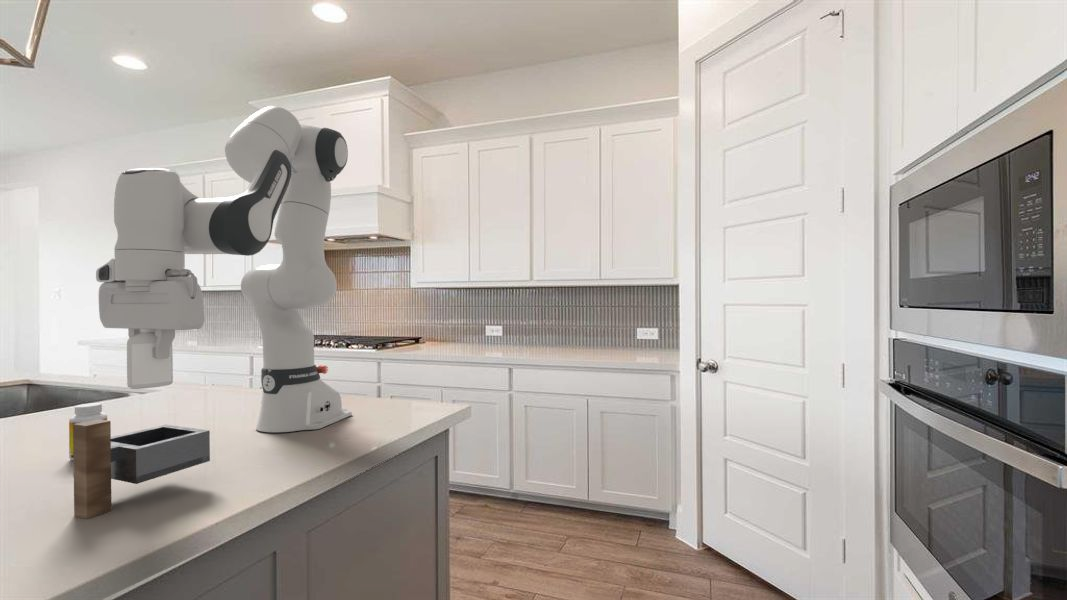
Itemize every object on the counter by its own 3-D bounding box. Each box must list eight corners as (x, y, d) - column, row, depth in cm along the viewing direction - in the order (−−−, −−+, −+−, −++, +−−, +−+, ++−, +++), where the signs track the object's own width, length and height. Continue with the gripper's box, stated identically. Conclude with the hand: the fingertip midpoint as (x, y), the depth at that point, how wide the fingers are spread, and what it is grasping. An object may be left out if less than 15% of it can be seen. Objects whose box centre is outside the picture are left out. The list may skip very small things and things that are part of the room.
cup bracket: (166, 476, 87) (165, 401, 87) (210, 485, 83) (209, 406, 83) (58, 511, 73) (57, 421, 73) (104, 523, 69) (102, 428, 69)
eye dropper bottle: (166, 387, 78) (165, 310, 78) (122, 390, 76) (121, 310, 76) (176, 383, 82) (175, 309, 82) (134, 385, 80) (133, 310, 80)
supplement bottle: (66, 464, 94) (65, 409, 94) (72, 456, 98) (72, 404, 98) (105, 458, 97) (104, 405, 97) (109, 451, 102) (109, 400, 101)
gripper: (215, 269, 78) (216, 358, 79) (132, 272, 86) (133, 353, 86) (173, 267, 73) (174, 363, 73) (88, 271, 80) (90, 357, 80)
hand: (151, 358), depth 80 cm, fingers closed on eye dropper bottle, 3 cm apart
